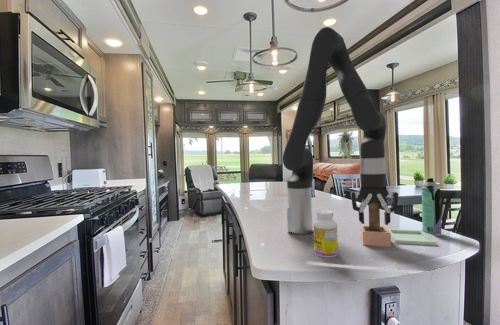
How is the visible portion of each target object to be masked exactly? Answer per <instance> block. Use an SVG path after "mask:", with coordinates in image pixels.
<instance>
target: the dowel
mask: <svg viewBox="0 0 500 325" xmlns="http://www.w3.org/2000/svg"><path fill="white" fill-rule="evenodd" d="M367 206H368V226H369V231H373V232H380V226H381V222H380V221H381V213H380V207H381V206H380V204H379V203H375V202H370V204H367Z"/></svg>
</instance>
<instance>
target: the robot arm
mask: <svg viewBox="0 0 500 325" xmlns="http://www.w3.org/2000/svg"><path fill="white" fill-rule="evenodd" d="M329 65H330V66H331V68H332V69H333V71H334V73H335V75H336V77H337V79H338V80H337V81H338V84H339V88H340V91H341V92H342V94H343V97H344V98H345V100H346V102H347V104H348V106H349V108H350V111H351V113H352V117H353V119H354V121H355V123H356V124H355V125H356V126H357V127H358V129H360V130H361V131H363V138H362V140H363V141H361V143H360V148H359V150H360V161H359V163H360V164H359V172H360V174H359V175H360V176H359V178H360V189H359V191H351V192H350V199H351V205H352V209H353V210H354V211H356V212H358V220H359V223H360V224H362V225H364V224H365V213H364V211H365V208H366V207H367V206H368V204H370V202H375V203H379V205H381V206H382V209H383V210H384V213H383V216H384V217H383V219H384V224H385V225H386V226H389V224H390V223H391V214H392V213H393V212H397V211H398V203H399V193H398V192H397V191H388V188H387V164H386V160H385V158H386V157H385V138H386V130H387V122H386V117H385V115H384V114H383V113H382V112H380V111H378V110H377V109H376V107H375V105H374V104H373V102H372V97H371V94H370V92H369V90H368V89H367V87H366V85H365V83H364V81H363V80H362V78H361V76H360V75H359V73H358V72H357V70H356V68H355V66H354V64H353V62H352V60H351V57H350V55H349V52H348V49H347V46H346V43H345V40H344V38H343V36H342V35H341V34H340V33H338V32H337V31H336V30H335V29H334V28H332V27H330V26H329V27H327V26H325V27H322V28H320V29H319V30H318V31H317V32H316V33H315V34H314V37H313V40H312V43H311V46H310V52H309V58H308V65H307V69H306V74H305V77H304V83H303V86H302V90H301V93H300V98H299V101H298V105H297V109H296V112H295V117H294V120H293V124H292V128H291V132H290V134H289V137H288V139H287V143H286V145H285V148H284V151H283V154H282V164H283V166H284V168H286V170H288V171H292V172H291V176H290V178H289V179H288V180H287V182H286V186H287V188H286V189H287V192H286V193H287V208H286V222H287V224H286V225H287V233H291V232H292V233H291V234H295V235H296V234H297V235H305V234H306V235H307V234H311V233H312V232H313V207H312V206H313V204H312V202H313V201H312V200H313V199H312V181H313V178H314V157H313V154H312V152H311V150H310V149H309V148H308V147H306V145H307V142H308V139H309V136H310V135H311V133H312V131H313V129H314V128H315V127H316V126H317V124H318V122H319V120H320V118H321V117H322V114H323V111H324V108H325V107H324V106H326V104H325V103H326V99H327V70H328V66H329ZM359 195H360V197H361V199H362V201H361V204H360V205H359V206H358V205H357V199H358V197H359ZM388 196H389V198H390V199H391V205H390V207H389V206H388V204H387V202H386V201H385V199H387V197H388Z"/></svg>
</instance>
